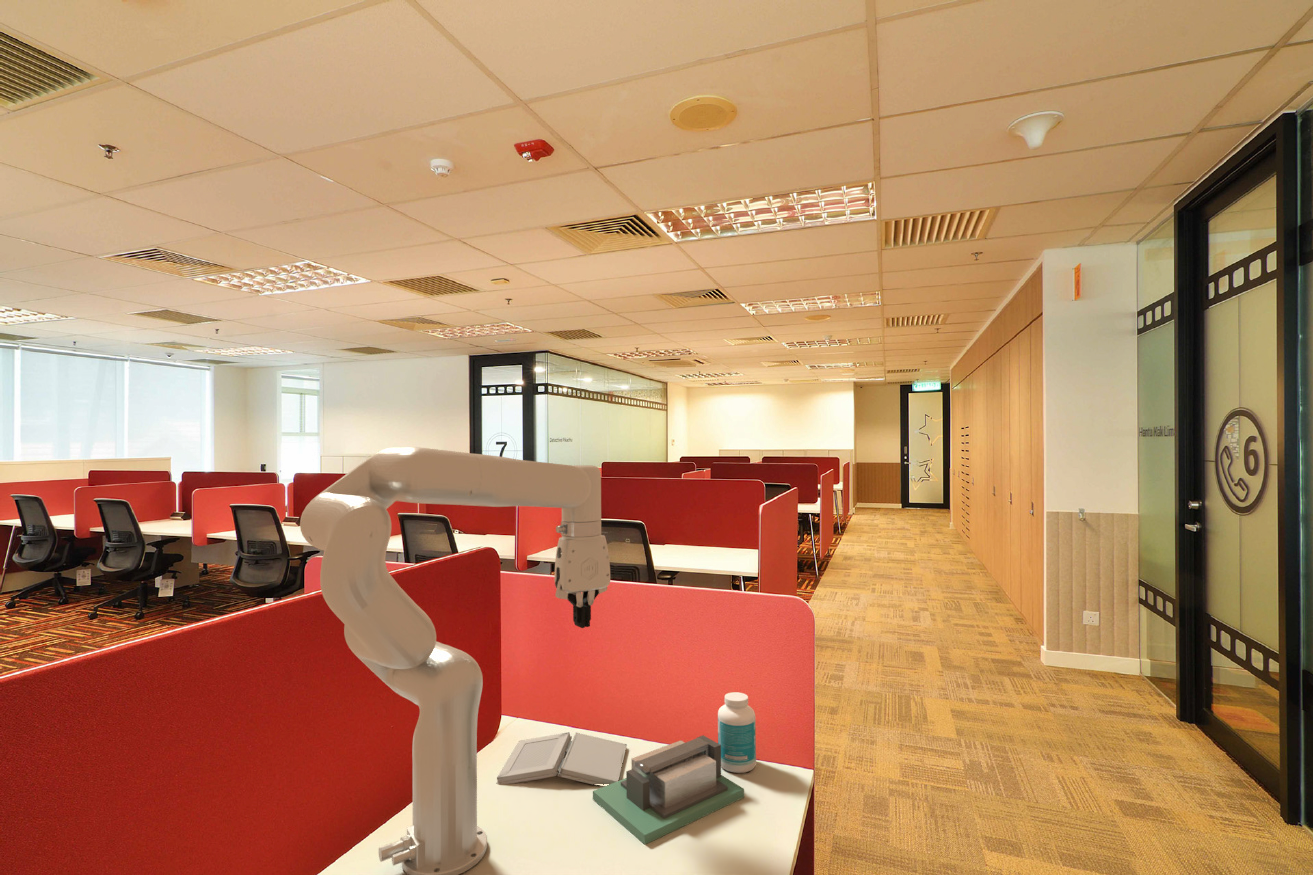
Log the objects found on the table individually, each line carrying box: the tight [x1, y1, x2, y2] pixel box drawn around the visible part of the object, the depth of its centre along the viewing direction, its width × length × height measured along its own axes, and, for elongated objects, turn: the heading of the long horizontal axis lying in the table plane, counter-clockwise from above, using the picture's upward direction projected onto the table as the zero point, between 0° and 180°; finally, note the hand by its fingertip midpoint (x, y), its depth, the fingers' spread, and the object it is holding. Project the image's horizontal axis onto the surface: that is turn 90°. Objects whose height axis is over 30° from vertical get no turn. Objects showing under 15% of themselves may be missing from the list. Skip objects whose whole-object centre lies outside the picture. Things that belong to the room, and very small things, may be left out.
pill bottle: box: [717, 691, 757, 774], centre depth 123 cm, size 8×7×14 cm
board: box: [592, 734, 745, 845], centre depth 111 cm, size 22×16×7 cm
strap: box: [635, 737, 709, 775], centre depth 112 cm, size 15×3×3 cm, turn 127°
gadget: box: [496, 732, 628, 785], centre depth 124 cm, size 23×15×4 cm, turn 86°
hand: (582, 625), depth 118 cm, fingers closed
